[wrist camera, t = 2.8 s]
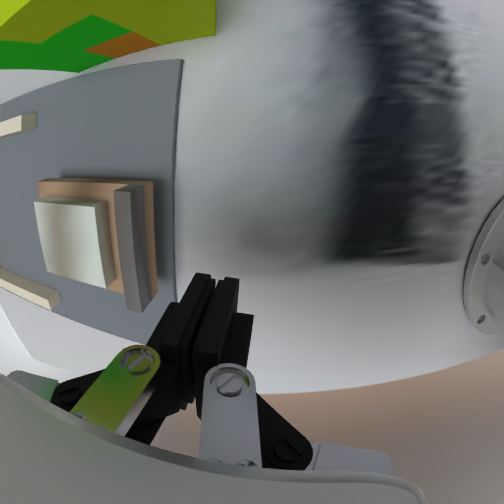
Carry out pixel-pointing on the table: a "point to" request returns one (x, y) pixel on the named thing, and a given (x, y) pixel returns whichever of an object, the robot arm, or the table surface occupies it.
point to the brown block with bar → (100, 234)
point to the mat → (92, 167)
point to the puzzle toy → (95, 30)
